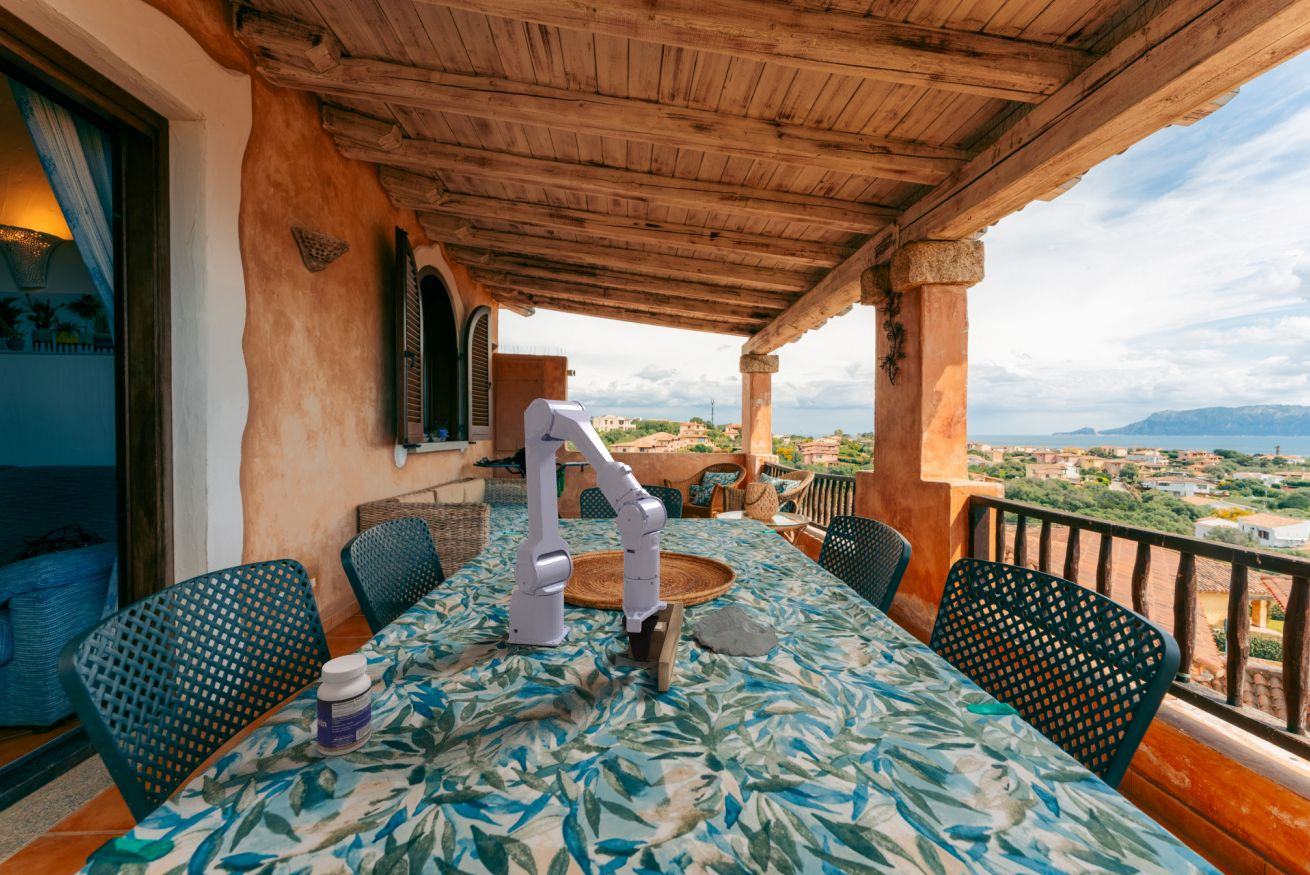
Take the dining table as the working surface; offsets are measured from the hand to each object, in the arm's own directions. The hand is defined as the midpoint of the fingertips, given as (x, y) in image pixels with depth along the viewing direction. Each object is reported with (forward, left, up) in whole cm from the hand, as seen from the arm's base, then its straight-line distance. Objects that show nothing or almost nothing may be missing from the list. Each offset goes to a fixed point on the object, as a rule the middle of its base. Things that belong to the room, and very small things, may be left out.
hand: (641, 659), depth 81 cm
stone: (+15, +16, -3) cm, 22 cm away
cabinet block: (0, +7, -2) cm, 7 cm away
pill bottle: (-33, -23, -2) cm, 40 cm away
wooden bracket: (0, +9, -2) cm, 9 cm away
